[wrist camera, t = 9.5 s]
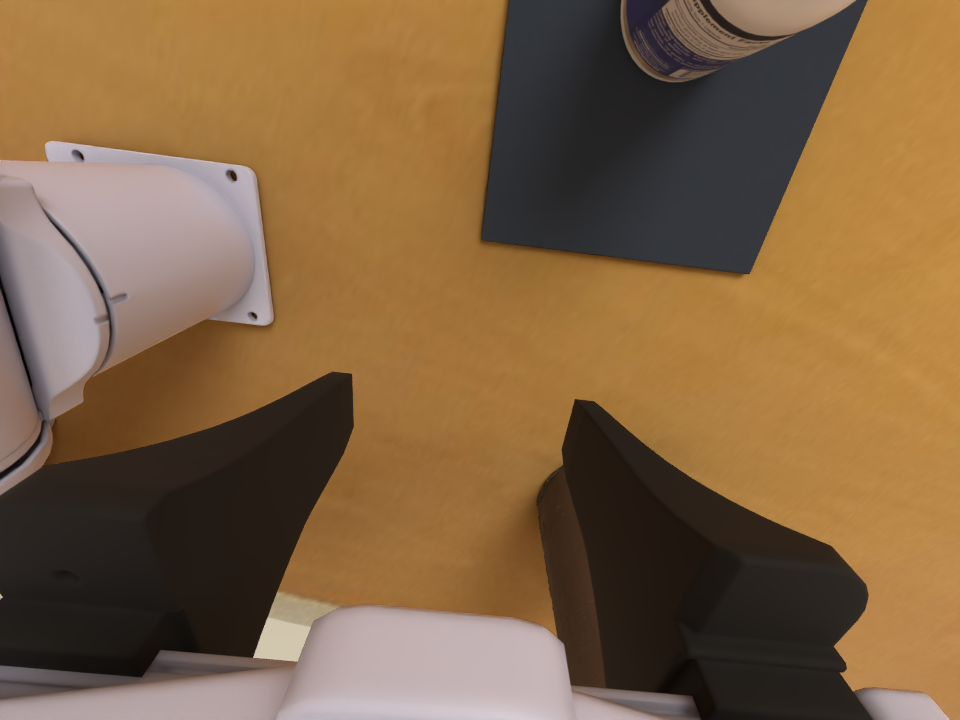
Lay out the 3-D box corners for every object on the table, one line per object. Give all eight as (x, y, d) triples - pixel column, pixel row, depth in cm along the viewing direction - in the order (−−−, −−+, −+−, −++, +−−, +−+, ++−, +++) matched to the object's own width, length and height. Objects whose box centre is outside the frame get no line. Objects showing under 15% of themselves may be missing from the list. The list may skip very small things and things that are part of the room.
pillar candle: (509, 495, 27) (530, 812, 14) (630, 424, 24) (809, 735, 11) (584, 566, 30) (662, 881, 17) (699, 511, 27) (904, 835, 14)
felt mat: (481, 239, 20) (481, 240, 19) (566, -489, 11) (568, -506, 11) (746, 273, 20) (749, 274, 20) (1032, -397, 11) (1045, -411, 11)
